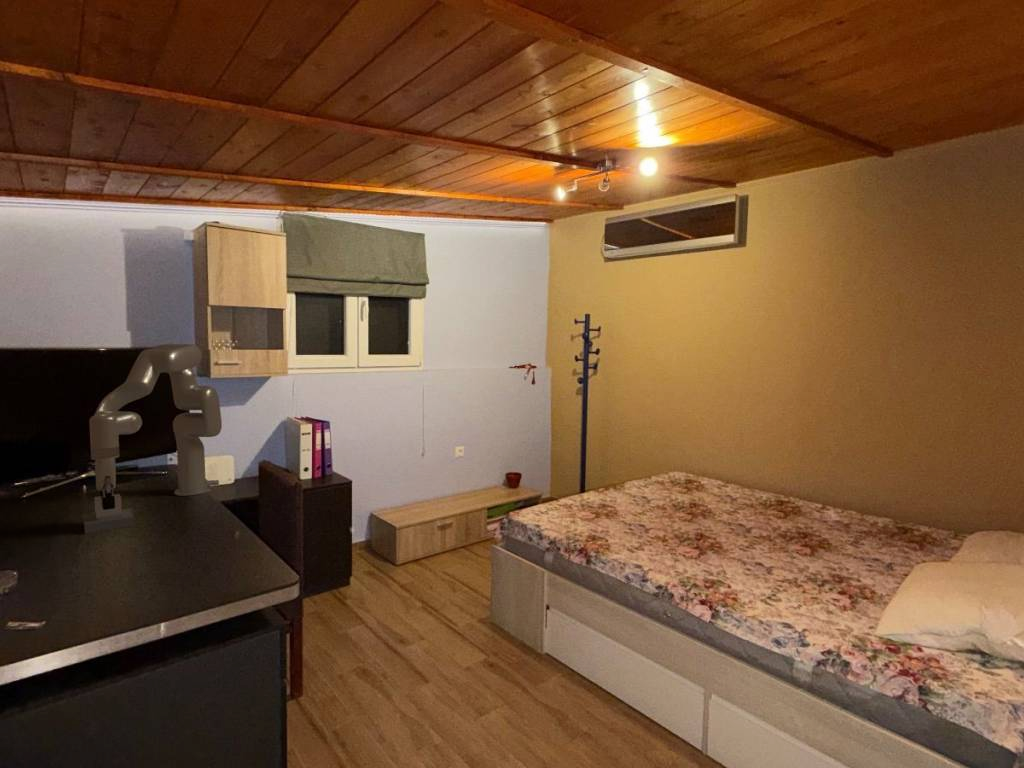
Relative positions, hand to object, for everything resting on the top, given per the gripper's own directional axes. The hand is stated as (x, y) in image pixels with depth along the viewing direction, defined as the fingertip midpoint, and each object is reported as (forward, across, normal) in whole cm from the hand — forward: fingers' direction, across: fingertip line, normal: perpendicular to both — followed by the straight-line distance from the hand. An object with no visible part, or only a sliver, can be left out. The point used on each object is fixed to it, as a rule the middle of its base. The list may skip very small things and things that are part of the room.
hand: (108, 505), depth 196 cm
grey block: (+6, 0, 0) cm, 6 cm away
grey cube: (+3, 0, 0) cm, 3 cm away
